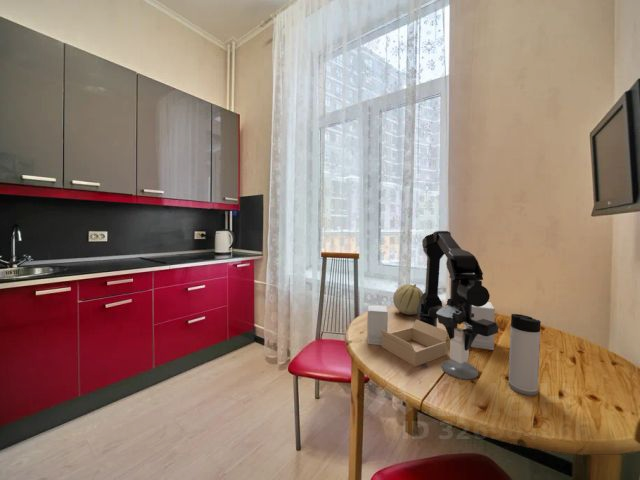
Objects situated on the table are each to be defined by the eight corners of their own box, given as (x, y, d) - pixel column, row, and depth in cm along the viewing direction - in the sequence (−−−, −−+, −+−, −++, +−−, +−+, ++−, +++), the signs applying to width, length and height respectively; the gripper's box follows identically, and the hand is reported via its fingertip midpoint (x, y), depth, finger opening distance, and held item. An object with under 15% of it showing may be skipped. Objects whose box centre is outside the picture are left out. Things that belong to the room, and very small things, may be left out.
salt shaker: (460, 364, 78) (462, 333, 78) (448, 358, 82) (450, 328, 81) (469, 361, 80) (470, 330, 80) (456, 355, 84) (458, 326, 83)
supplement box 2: (490, 340, 101) (491, 301, 100) (494, 351, 93) (495, 308, 92) (463, 336, 105) (464, 299, 104) (464, 346, 97) (465, 305, 96)
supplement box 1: (387, 346, 97) (387, 311, 97) (367, 344, 99) (367, 310, 98) (386, 337, 105) (387, 305, 104) (367, 336, 106) (367, 304, 105)
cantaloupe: (388, 309, 139) (389, 281, 138) (415, 308, 140) (416, 280, 139) (400, 319, 124) (400, 287, 123) (430, 318, 126) (431, 286, 125)
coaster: (454, 358, 88) (454, 356, 88) (485, 373, 79) (485, 371, 79) (434, 366, 83) (434, 364, 83) (464, 383, 74) (464, 381, 74)
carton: (415, 337, 104) (415, 318, 104) (449, 353, 91) (450, 332, 91) (378, 348, 96) (378, 328, 95) (410, 367, 82) (411, 344, 82)
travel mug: (501, 382, 75) (504, 312, 73) (523, 381, 75) (526, 311, 74) (520, 397, 68) (523, 320, 67) (544, 395, 69) (547, 319, 68)
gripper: (417, 292, 84) (416, 341, 85) (476, 309, 68) (474, 368, 69) (440, 288, 89) (439, 333, 90) (500, 302, 73) (498, 358, 74)
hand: (459, 347), depth 81 cm, fingers closed on salt shaker, 4 cm apart
